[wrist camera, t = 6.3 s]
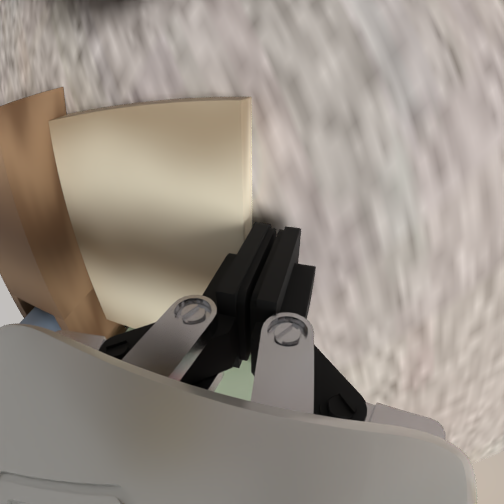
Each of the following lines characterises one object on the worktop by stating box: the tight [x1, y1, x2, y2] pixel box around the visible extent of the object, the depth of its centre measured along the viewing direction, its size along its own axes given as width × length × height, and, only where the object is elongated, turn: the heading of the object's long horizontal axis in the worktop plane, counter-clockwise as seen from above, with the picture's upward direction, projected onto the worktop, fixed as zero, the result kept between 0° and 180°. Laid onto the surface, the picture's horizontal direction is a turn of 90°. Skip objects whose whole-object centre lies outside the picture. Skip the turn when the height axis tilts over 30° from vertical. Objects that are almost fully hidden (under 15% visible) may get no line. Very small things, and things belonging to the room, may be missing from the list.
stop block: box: [0, 87, 126, 340], centre depth 14 cm, size 16×6×4 cm, turn 0°
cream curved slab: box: [48, 97, 252, 329], centre depth 13 cm, size 12×9×2 cm
